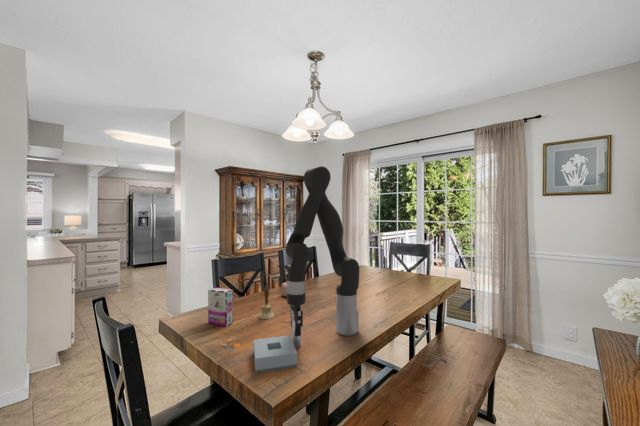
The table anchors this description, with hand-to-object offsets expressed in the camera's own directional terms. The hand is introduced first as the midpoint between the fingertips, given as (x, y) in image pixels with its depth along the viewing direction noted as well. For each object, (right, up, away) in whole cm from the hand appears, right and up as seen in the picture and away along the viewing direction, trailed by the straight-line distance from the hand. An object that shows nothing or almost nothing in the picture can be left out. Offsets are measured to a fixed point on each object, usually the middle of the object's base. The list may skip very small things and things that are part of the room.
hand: (295, 331), depth 112 cm
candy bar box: (-38, -6, +21) cm, 44 cm away
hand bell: (-18, -6, +30) cm, 36 cm away
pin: (0, -6, 0) cm, 6 cm away
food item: (-8, -5, +63) cm, 64 cm away
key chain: (-27, -6, +1) cm, 28 cm away
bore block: (-7, -6, -11) cm, 14 cm away
